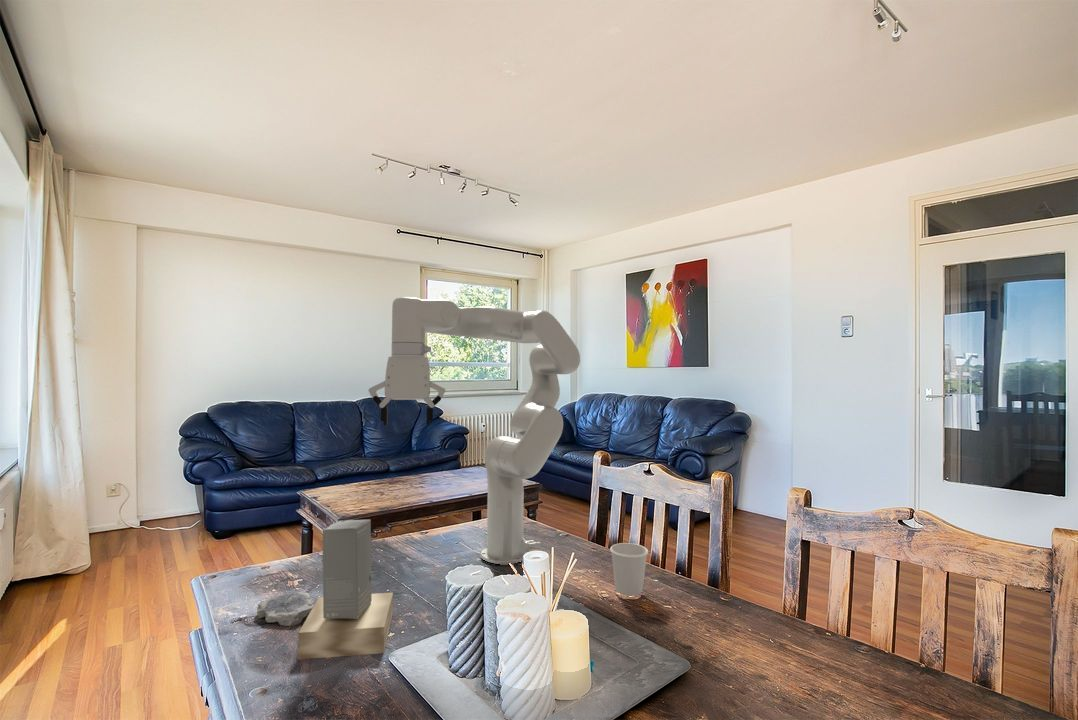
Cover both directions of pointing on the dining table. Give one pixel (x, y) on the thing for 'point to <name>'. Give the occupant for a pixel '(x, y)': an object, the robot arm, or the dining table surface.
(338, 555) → the skincare box
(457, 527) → the dining table surface
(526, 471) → the robot arm
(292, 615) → the grey rock
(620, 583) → the dixie cup
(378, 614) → the maple block
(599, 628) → the dining table surface
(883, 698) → the dining table surface
